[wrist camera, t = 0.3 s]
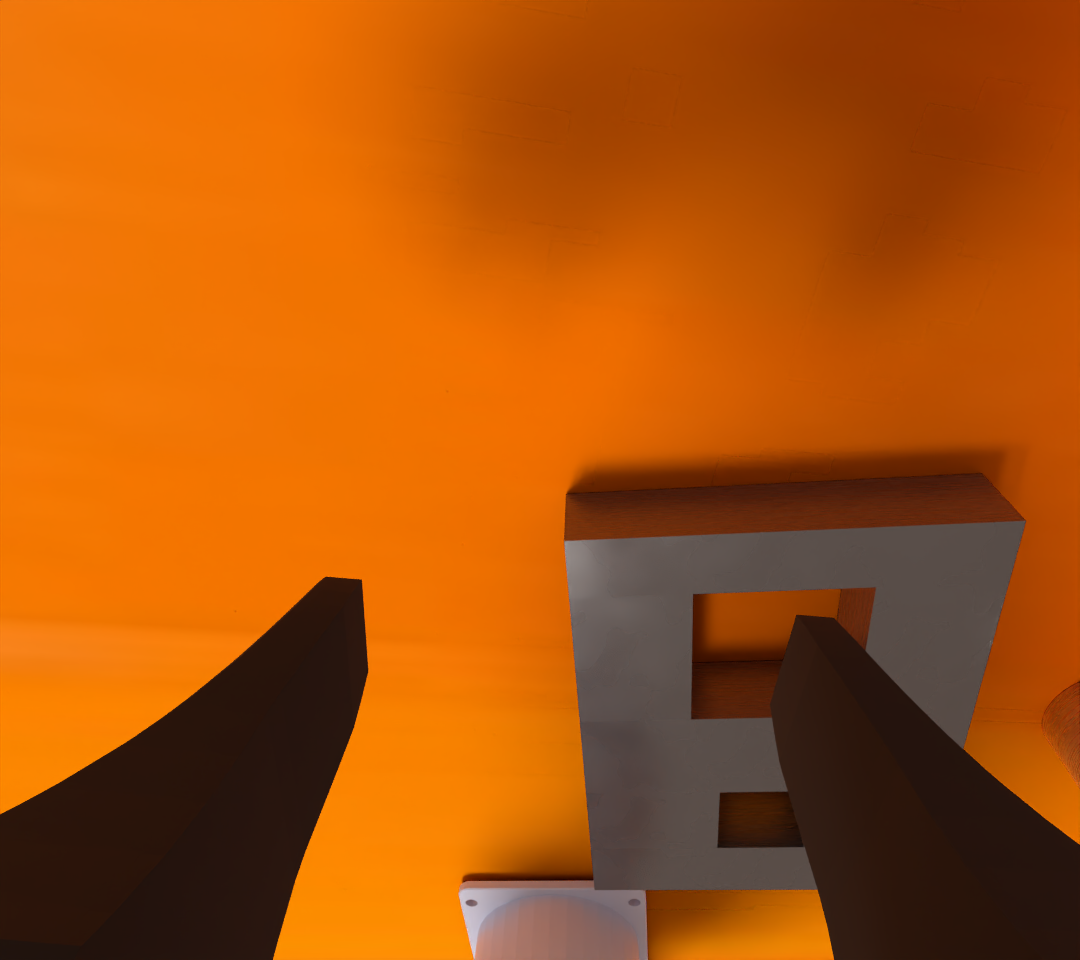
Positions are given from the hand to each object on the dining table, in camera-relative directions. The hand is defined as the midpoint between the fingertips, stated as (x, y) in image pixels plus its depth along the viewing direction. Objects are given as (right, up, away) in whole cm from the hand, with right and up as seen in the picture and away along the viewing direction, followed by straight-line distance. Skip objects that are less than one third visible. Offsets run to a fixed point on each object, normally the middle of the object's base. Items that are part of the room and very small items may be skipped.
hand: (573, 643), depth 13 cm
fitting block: (+7, -4, +14) cm, 16 cm away
